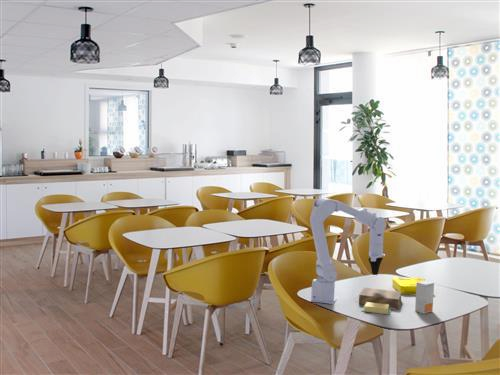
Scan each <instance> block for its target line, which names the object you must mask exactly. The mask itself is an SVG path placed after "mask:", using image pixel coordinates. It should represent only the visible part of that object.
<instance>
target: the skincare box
mask: <svg viewBox="0 0 500 375" xmlns="http://www.w3.org/2000/svg"><path fill="white" fill-rule="evenodd" d="M434 289H435V282H433V281H429V280H426V281H421V282H417V288H416V295H415V308H414V311H415V312H416V313H419V314H427V313H432V312H433V307H434V294H435V292H434V291H435V290H434Z"/></svg>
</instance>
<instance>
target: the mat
mask: <svg viewBox="0 0 500 375" xmlns="http://www.w3.org/2000/svg"><path fill="white" fill-rule="evenodd" d="M364 306H365V305H363V307H362V309H361V310H360V311H361V312H365V313H366V312H367V313H370V312H369V311H364ZM392 309H393V308H392V307H389V310H388V313H387V314H386V315H390V314H391V312H392ZM371 313H374V314H377V313H376V312H371ZM379 314H381V315H385V314H384V313H379Z"/></svg>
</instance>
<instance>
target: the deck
mask: <svg viewBox="0 0 500 375" xmlns="http://www.w3.org/2000/svg"><path fill="white" fill-rule="evenodd" d="M401 293H402V292H399V291H397V290H391V289H390V290H387V289H381V288H380V289H379V288H371V287H363V288H362V290H361V291H360V293H359V295H358V304H359V305H363V306H364V305H365V304H366V302H371V303H380V304H388V305H389V307H392V309H397V310H399V308H400V305H401V302H402V294H401Z"/></svg>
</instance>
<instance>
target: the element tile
mask: <svg viewBox="0 0 500 375" xmlns="http://www.w3.org/2000/svg"><path fill="white" fill-rule="evenodd" d="M421 281H427V280H426V279H425V278H423V277H403V276H402V277H401V276H399V277H393V278H392V288H393V289H394V290H395V291H399V292H402V293H401V295H409V296H410V295H412V296H413V294H416V288H417V282H421Z"/></svg>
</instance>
